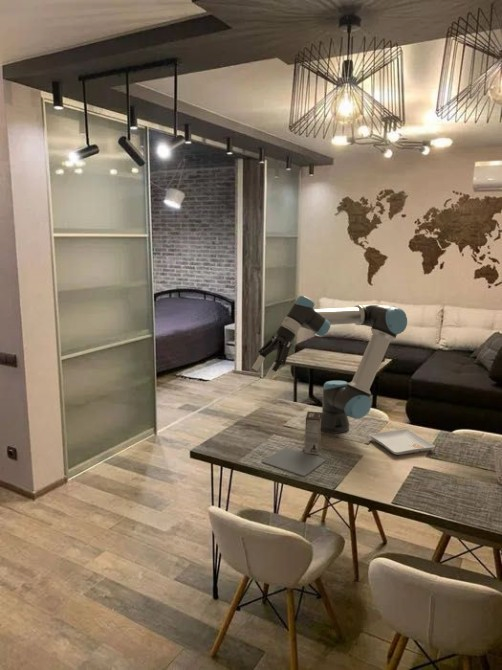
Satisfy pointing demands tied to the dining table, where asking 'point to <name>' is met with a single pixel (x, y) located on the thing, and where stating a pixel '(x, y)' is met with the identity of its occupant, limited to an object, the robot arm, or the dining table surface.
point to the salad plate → (401, 441)
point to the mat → (294, 461)
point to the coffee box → (313, 432)
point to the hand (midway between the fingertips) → (261, 373)
